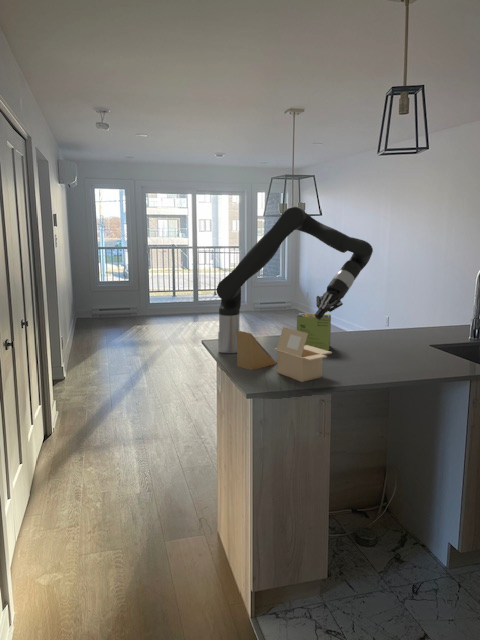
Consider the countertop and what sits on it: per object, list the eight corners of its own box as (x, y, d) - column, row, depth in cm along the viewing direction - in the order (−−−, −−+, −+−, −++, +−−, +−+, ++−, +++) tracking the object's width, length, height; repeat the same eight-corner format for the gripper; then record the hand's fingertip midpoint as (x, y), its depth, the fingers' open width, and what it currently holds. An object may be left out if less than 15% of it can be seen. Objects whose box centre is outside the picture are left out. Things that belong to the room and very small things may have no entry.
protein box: (329, 351, 223) (330, 317, 220) (295, 349, 226) (296, 316, 223) (330, 345, 233) (331, 313, 230) (297, 344, 236) (298, 312, 233)
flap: (277, 349, 187) (276, 349, 187) (283, 327, 188) (282, 326, 187) (301, 357, 176) (300, 356, 176) (308, 333, 177) (306, 332, 176)
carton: (272, 371, 192) (273, 348, 190) (301, 365, 200) (302, 343, 199) (307, 384, 176) (308, 359, 174) (337, 376, 184) (337, 353, 182)
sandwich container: (278, 363, 203) (279, 328, 200) (251, 370, 193) (251, 333, 190) (264, 359, 209) (264, 325, 206) (237, 366, 199) (236, 330, 197)
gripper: (324, 276, 196) (300, 309, 191) (349, 279, 185) (324, 314, 180) (333, 288, 200) (310, 321, 195) (358, 292, 189) (334, 326, 184)
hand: (317, 317), depth 188 cm, fingers closed
